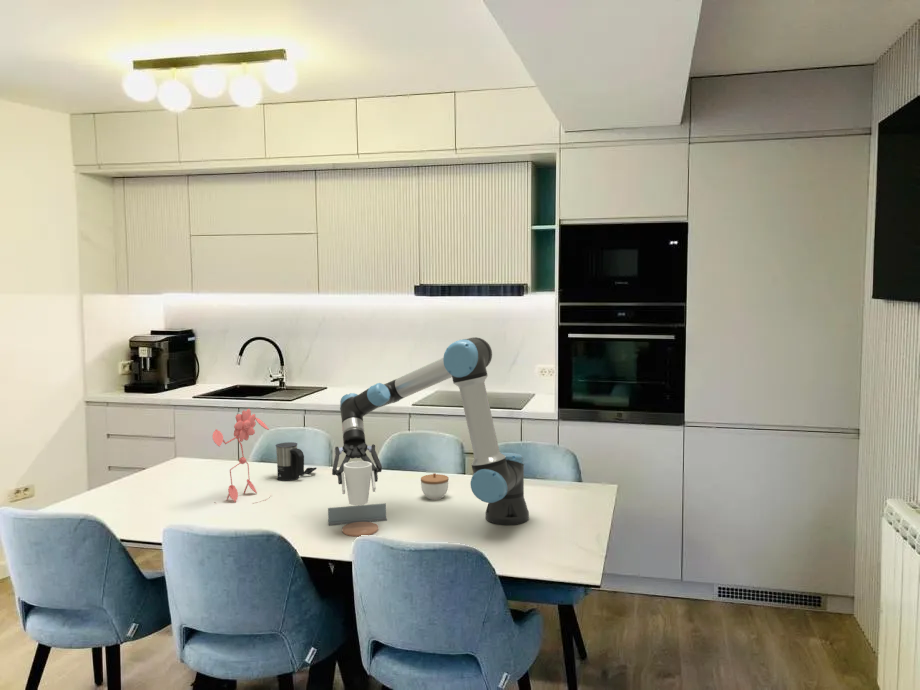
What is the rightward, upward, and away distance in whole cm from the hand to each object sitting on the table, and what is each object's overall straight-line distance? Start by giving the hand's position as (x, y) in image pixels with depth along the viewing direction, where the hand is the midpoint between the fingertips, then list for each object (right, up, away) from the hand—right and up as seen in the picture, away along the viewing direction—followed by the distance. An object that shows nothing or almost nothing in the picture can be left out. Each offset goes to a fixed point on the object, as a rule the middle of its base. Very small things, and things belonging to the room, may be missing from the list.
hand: (359, 490), depth 249 cm
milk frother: (-37, -9, +75) cm, 84 cm away
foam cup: (-1, -5, +4) cm, 6 cm away
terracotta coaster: (0, -14, +4) cm, 15 cm away
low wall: (-2, -13, +14) cm, 19 cm away
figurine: (-49, -12, +43) cm, 66 cm away
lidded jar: (+24, -11, +41) cm, 49 cm away
